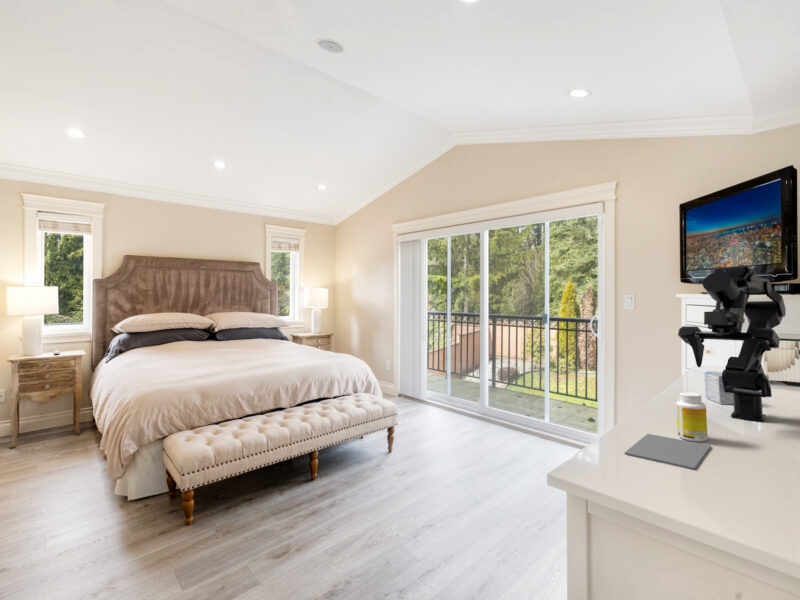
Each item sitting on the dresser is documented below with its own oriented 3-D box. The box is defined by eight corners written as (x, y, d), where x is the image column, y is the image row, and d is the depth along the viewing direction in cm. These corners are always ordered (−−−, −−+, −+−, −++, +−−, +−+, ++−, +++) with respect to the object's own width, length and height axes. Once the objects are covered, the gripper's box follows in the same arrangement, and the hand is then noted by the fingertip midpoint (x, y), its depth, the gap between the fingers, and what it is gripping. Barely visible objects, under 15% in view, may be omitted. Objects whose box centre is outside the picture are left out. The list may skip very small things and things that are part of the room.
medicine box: (736, 404, 118) (735, 375, 118) (719, 404, 119) (718, 375, 119) (721, 398, 126) (719, 371, 126) (705, 398, 127) (703, 371, 127)
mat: (647, 435, 95) (647, 433, 95) (710, 447, 86) (710, 445, 86) (624, 454, 84) (624, 452, 84) (694, 469, 75) (694, 467, 75)
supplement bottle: (714, 442, 89) (712, 396, 89) (689, 443, 89) (687, 397, 89) (694, 434, 95) (692, 390, 95) (672, 435, 94) (669, 391, 94)
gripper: (674, 297, 105) (664, 352, 100) (768, 294, 89) (761, 359, 85) (691, 316, 110) (681, 369, 106) (782, 316, 95) (776, 378, 90)
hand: (721, 368), depth 96 cm, fingers open, 9 cm apart
